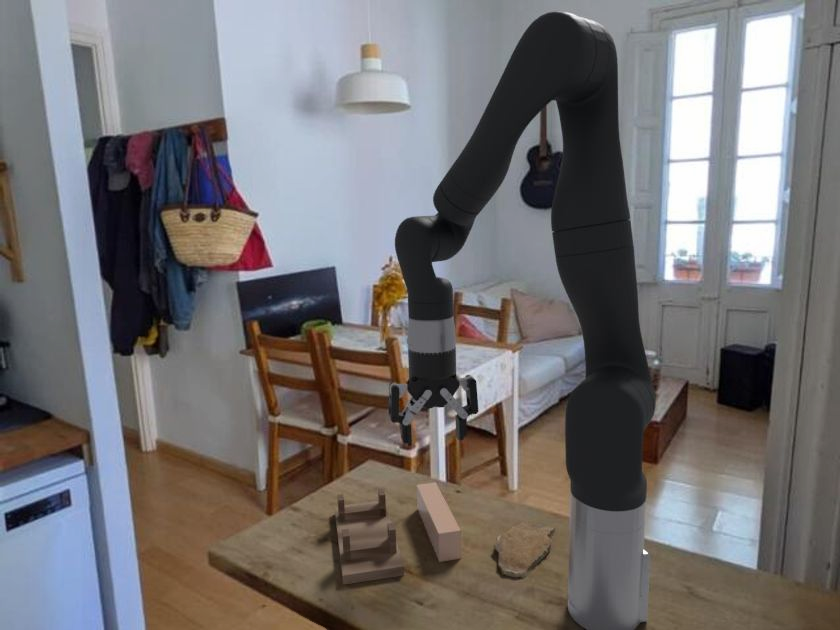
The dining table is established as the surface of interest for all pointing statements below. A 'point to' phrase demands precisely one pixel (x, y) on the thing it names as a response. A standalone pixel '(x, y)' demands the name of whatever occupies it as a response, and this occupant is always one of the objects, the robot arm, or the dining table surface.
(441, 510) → the clay bar
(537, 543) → the pottery shard
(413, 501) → the dining table surface
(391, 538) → the brown cradle stand
